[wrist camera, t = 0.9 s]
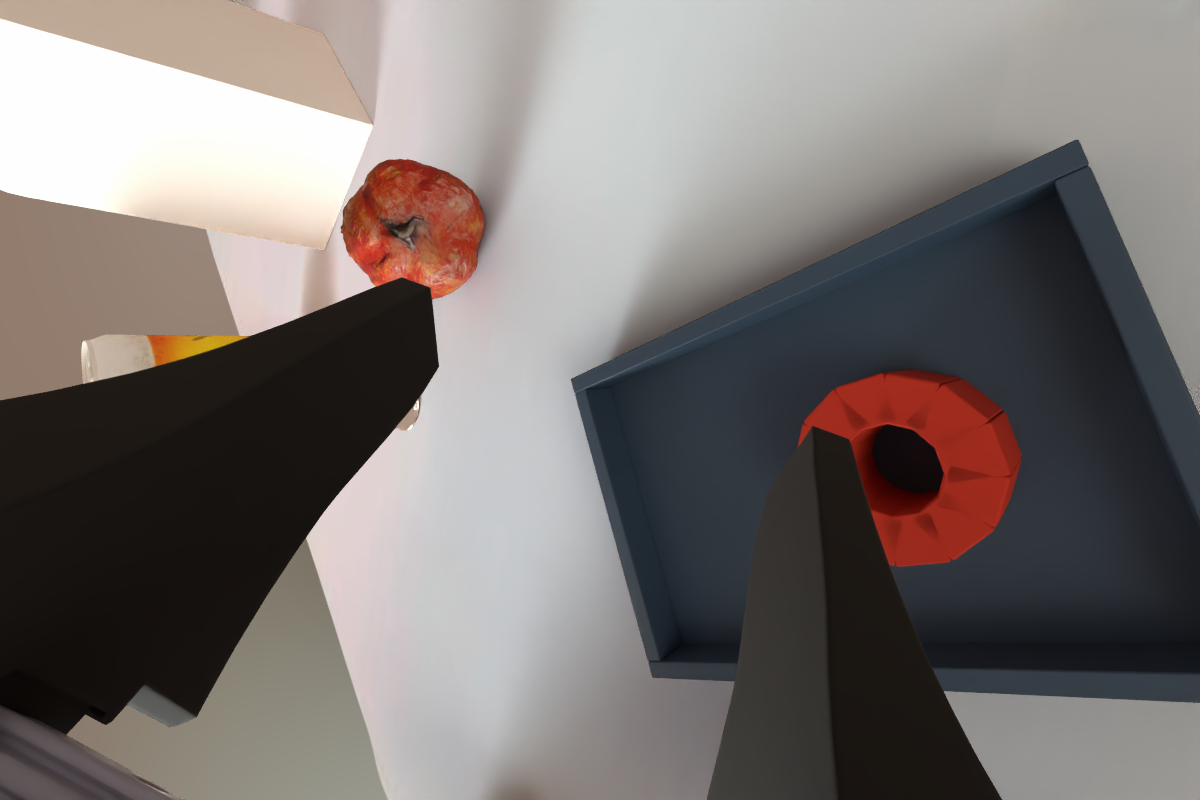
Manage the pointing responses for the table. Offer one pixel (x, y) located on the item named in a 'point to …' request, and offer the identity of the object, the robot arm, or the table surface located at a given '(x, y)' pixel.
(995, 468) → the ring
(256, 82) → the milk
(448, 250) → the pomegranate
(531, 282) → the table surface
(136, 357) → the beer can
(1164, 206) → the table surface
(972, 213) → the tray
